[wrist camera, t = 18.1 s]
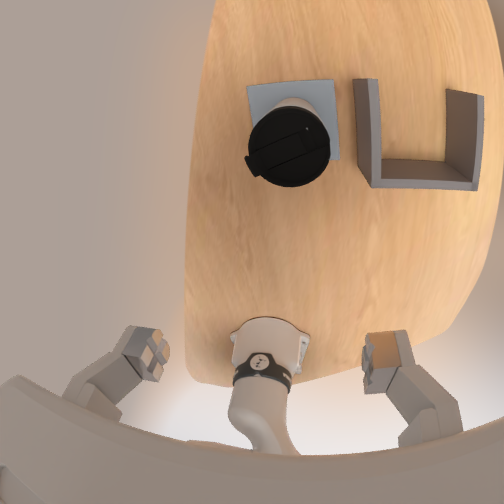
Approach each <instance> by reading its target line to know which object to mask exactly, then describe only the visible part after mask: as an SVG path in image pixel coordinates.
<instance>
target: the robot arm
mask: <svg viewBox="0 0 504 504" xmlns="http://www.w3.org/2000/svg"><path fill="white" fill-rule="evenodd" d="M162 337H163V334H162V332H161V330H159V329H152V328H145V327H138V326H131V325H130V326H128V327H127V328H126V329H125V331H124V333H123V334H122V336H121V338H120V339H119V341H118V343H117V344H116V346H115V348H114V350H113V351H112V352H109V353H107V354H106V355H104V356H103V357H101V358H100V359H98V360H97V361H95V362H94V363H92V364H91V365H89V366H88V367H86V368H85V369H84V370H82V371H80V372H79V373H77V374H76V375H74V376H73V378H72V379H71V381H70V383H69V384H68V386H67V388H66V390H65V392H64V393H63V395H62V397H60V396H58V395H56V394H54V393H52V392H50V391H48V390H46V389H45V388H43V387H41V386H39V385H37V384H36V383H34V382H32V381H31V380H29V379H27V378H26V377H24V376H22V375H16V376H14V377H13V378H11V379H9V380H8V381H7V382H5V383H4V384H2V385H1V386H0V504H504V417H501V418H499V419H497V420H494V421H492V422H489V423H487V424H484V425H482V426H479V427H476V428H473V429H471V430H467V431H463V427H462V421H461V416H460V411H459V407H458V402H457V400H456V399H454V397H452V396H451V394H449V393H448V392H447V391H446V390H445V389H444V388H443V387H442V386H441V385H440V384H439V383H438V382H437V381H436V380H435V379H434V378H433V377H432V376H431V375H430V374H428V372H426V371H425V370H424V369H423V368H422V367H421V366H420V365H416V364H415V360H414V356H413V353H412V349H411V345H410V341H409V338H408V334H407V332H406V330H398V331H385V332H374V333H367V334H366V337H365V343H366V345H365V346H364V347H363V350H362V370H363V371H364V372H365V376H364V379H363V383H364V392H365V394H377V393H386V395H387V396H388V398H389V399H390V400H391V402H392V403H393V404H394V405H395V407H396V408H397V410H398V411H399V412H400V414H401V415H402V416H403V418H404V419H405V420H406V422H407V423H408V424H409V426H408V427H407V428H406V429H405V430H404V431H403V432H402V433H401V435H400V436H399V437H398V443H399V448H394V449H387V450H381V451H372V452H364V453H353V454H339V455H301V454H299V452H298V451H297V450H296V449H295V447H294V445H293V444H292V442H291V440H290V437H289V434H288V431H287V426H286V407H287V395H288V394H289V392H290V388H291V384H292V382H291V380H292V378H293V376H294V374H301V371H302V365H301V364H302V361H303V358H304V356H305V353H306V350H307V347H308V344H309V341H310V336H309V335H308V334H305V333H303V332H300V331H299V330H297V329H296V328H295V327H294V326H293V325H291V324H290V323H288V322H286V321H283V320H280V319H276V318H267V317H263V318H256V319H252V320H249V321H247V322H246V323H244V324H243V325H242V326H241V328H240V329H239V330H237V331H235V332H233V333H231V335H230V339H231V341H232V342H233V344H234V349H233V355H232V361H231V362H232V364H233V365H234V367H235V368H236V370H235V373H234V376H233V386H234V388H233V392H232V397H231V401H230V405H229V409H228V418H229V420H230V422H231V424H232V425H233V426H234V427H235V428H236V429H237V430H238V431H239V432H241V433H242V434H244V435H245V436H246V437H247V438H248V439H249V440H250V441H251V443H252V445H253V450H252V449H251V450H249V449H244V448H239V447H233V446H229V445H225V444H221V443H216V442H208V441H196V440H189V441H187V442H185V441H181V440H176V439H173V438H169V437H165V436H161V435H158V434H154V433H151V432H147V431H144V430H141V429H137V428H135V427H132V426H129V425H126V424H123V423H120V422H119V420H120V418H121V416H122V412H121V411H120V410H119V409H118V408H117V407H116V406H115V405H116V404H117V403H118V402H119V401H120V400H122V398H124V397H125V396H126V395H127V394H128V393H129V392H130V391H131V390H132V389H134V388H135V387H136V386H137V385H138V384H139V383H140V382H141V381H142V380H148V381H153V382H159V380H160V378H161V375H162V373H163V365H164V364H165V363H167V361H168V359H169V355H170V348H169V345H168V343H167V341H165V340H164V339H163V338H162Z"/></svg>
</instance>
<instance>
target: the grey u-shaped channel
mask: <svg viewBox="0 0 504 504" xmlns="http://www.w3.org/2000/svg"><path fill="white" fill-rule="evenodd" d="M353 89H354V100H355V112H356V128H357V152H358V167H359V169H360V171H361V172H362V174H363V175H364V177H365V179H366V180H367V182H368V184H369V185H370V187H371V188H414V189H445V190H464V191H477V190H478V184H479V177H480V169H481V160H482V149H483V134H484V96H481V95H477V94H473V93H467V92H462V91H456V90H450V89H446V150H445V162H439V161H425V160H405V159H381V117H380V100H379V87H378V79H354V80H353Z"/></svg>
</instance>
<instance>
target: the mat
mask: <svg viewBox="0 0 504 504" xmlns="http://www.w3.org/2000/svg"><path fill="white" fill-rule="evenodd" d="M247 93H248V99H249V105H250V111H251V117H252V123H253V128H254V127H255V125H256V124H257V123H258V121H260V120H261V118H262V117H263V116H264V115H265V114H266V113H267V112H269V111H270V110H271V109H272V108H273V107H275V106H276V105H277V104H278V103H279V102H280V101H282V100H284V99H286V98H291V97H297V98H301V99H304V100H306V101H307V102H309V103H310V104H311V105H312V106H313V108H314V109H315V111H316V112H317V114H318V115H319V117H320V118H321V120H322V122H323V123H324V125H325V127H326V129H327V132H328V134H329V137H330V151H331V156H330V159H329V160H340V152H339V135H338V121H337V110H336V99H335V90H334V81H333V79H332V80H305V81H290V82H279V83H270V84H261V85H254V86H247Z"/></svg>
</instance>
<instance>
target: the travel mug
mask: <svg viewBox="0 0 504 504" xmlns="http://www.w3.org/2000/svg"><path fill="white" fill-rule="evenodd" d="M248 150H249V156H245V161H246V164H247V166H248V168H249V169H250V171H251V173H252V174H253V175H254V177H257V176H259V175H261V176H262V177H263V178H264V179H266V180H267V181H269V182H271V183H273V184H275V185H278V186H283V187H298V186H302V185H305V184H308V183H310V182H312V181H313V180H315V179H316V178H317V177H318V176H320V175H321V173H322V172H323V171H324V170H325V168H326V166H327V165H328V163H329V159H330V156H331V151H330V137H329V134H328V132H327V129H326V127H325V125H324V123H323V122H322V120H321V118H320V117H319V115H318V114H317V112H316V111H315V109H314V108H313V106H312V105H311V104H310V103H309V102H307V101H306V100H304V99H301V98H297V97H291V98H286V99H284V100H282V101H280V102H279V103H278V104H277V105H276V106H275V107H273V108H272V109H271V110H270V111H269V112H267V113H266V114H265V115H264V116H263V117H262V118H261V120H260V121H258V123H257V124H256V125H255V127H254V128H253V130H252V132H251V135H250V138H249V143H248Z"/></svg>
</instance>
